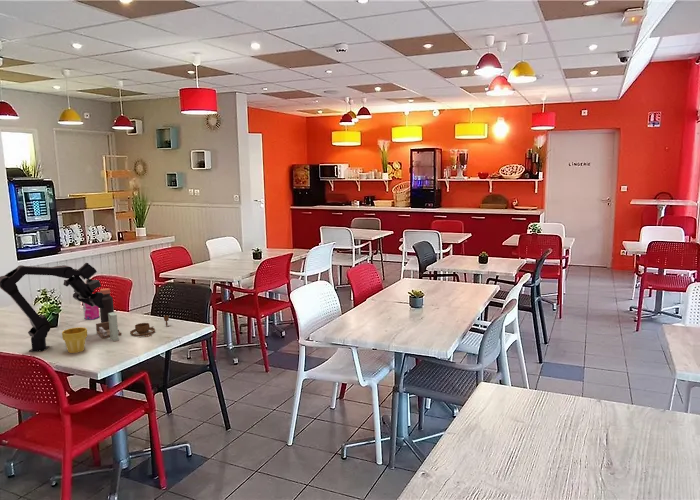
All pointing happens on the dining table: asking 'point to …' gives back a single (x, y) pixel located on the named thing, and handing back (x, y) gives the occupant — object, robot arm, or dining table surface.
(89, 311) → the supplement box
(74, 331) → the plant pot
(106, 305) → the bottle
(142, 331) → the place setting
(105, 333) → the cabinet base
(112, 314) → the pale green rectangular box
